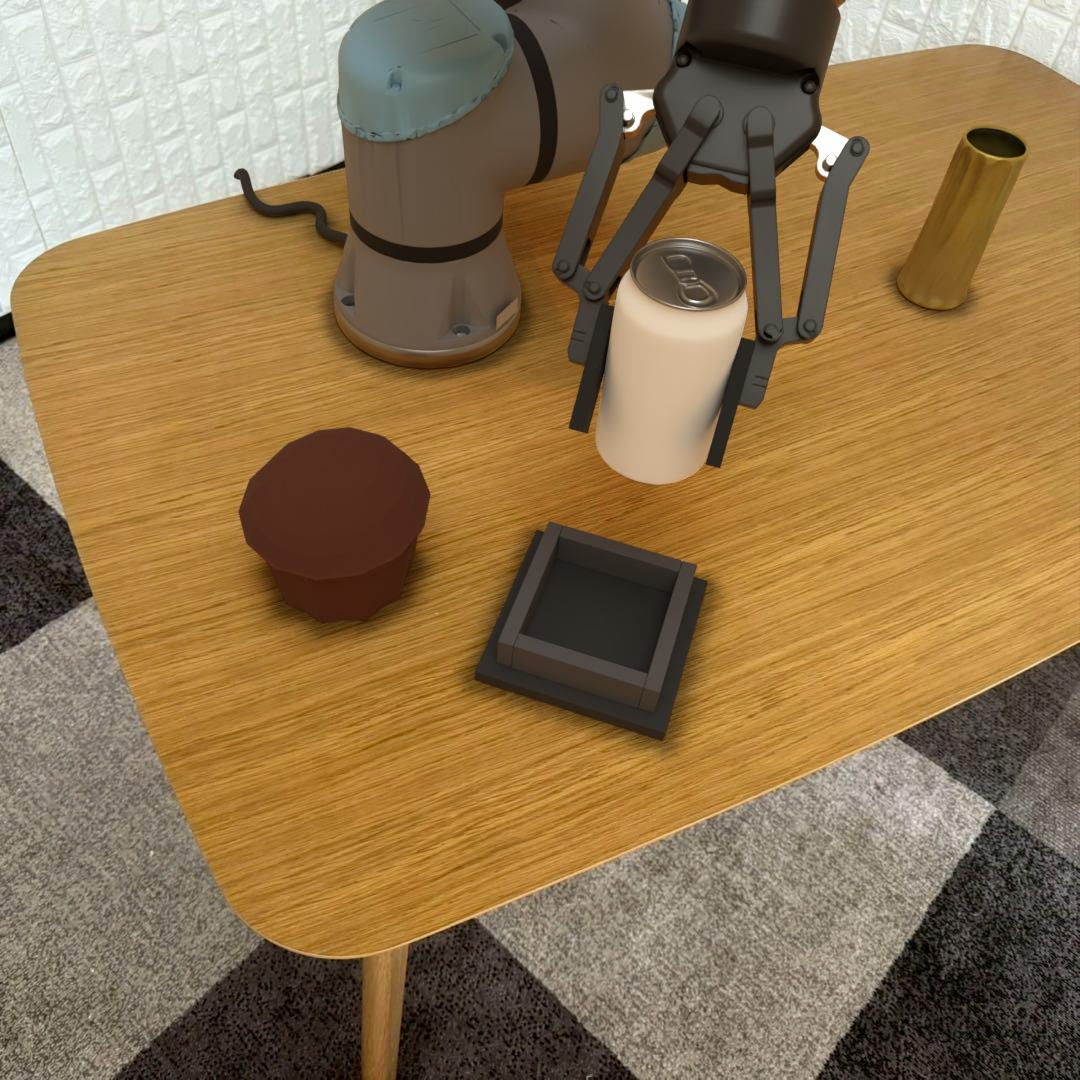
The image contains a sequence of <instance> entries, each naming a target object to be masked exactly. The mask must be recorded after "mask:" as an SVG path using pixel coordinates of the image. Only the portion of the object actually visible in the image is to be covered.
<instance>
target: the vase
mask: <svg viewBox="0 0 1080 1080" xmlns="http://www.w3.org/2000/svg"><path fill="white" fill-rule="evenodd" d="M1030 153H1031V148H1030V144H1029V142H1028V141H1027V139H1026V138H1024V136H1022V135H1021V134H1020V133H1018V132H1016V131H1014V130H1012V129H1009V128H1007V127H1005V126H1000V125H995V124H974V125H972V126H969V127H968V128H967V129H965V131H964V132H963V133H962V136H961V138H960V140H959V142H958V144H957V146H956V149H955V151H954V153H953V155H952V158H951V159H950V160H951V161H950V163H949V164H948V166H947V170H946V173H945V174H944V177H943V179H942V181H941V184H940V187H939V188H938V191H937V193H936V196H935V198H934V200H933V203H932V205H931V207H930V210H929V212H928V215H927V216H926V219H925V220H924V223H923V226H922V228H921V229H920V231H919V234H918V236H917V237H916V240H915V242H914V244H913V246H912V248H911V250H910V252H909V254H908V257H907V259H906V260H905V262H904V265H903V267H902V269H901V271H900V272H899V273H898V275H897V277H896V284H897V288H898V290H899V292H900V293H901V294H902V295H903V296H904V297H905V299H907V300H908V301H910V302H912V303H913V304H915V305H918V306H919V307H922V308H925V309H930V310H934V311H935V310H936V311H937V310H938V311H947V310H949V311H950V310H953V309H956V308H958V307H959V306H961V305H962V304H963V303H964V302H965V300H966V298H967V295H968V290H969V287H970V285H971V283H972V280H973V278H974V276H975V273H976V271H977V269H978V267H979V264H980V263H981V260H982V258H983V255H984V253H985V251H986V248H987V246H988V244H989V241H990V239H991V236H992V234H993V232H994V230H995V228H996V225H997V223H998V222H999V219H1000V216H1001V214H1002V212H1003V210H1004V208H1005V206H1006V204H1007V202H1008V201H1009V198H1010V196H1011V193H1012V192H1013V189H1014V187H1015V185H1016V183H1017V181H1018V178H1019V176H1020V173H1021V171H1022V170H1023V166H1024V164H1025V162H1027V160H1028V158H1029V155H1030Z"/></svg>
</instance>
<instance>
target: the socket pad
mask: <svg viewBox="0 0 1080 1080" xmlns="http://www.w3.org/2000/svg"><path fill="white" fill-rule="evenodd" d="M697 569H698V565H697V564H696V563H692V562H689V561H686V560H682V559H679V558H676V557H672V556H669V555H666V554H662V553H658V552H656V551H652V550H649V549H645V548H641V547H638V546H635V545H632V544H628V543H625V542H622V541H619V540H615V539H611V538H608V537H605V536H601V535H598V534H594V533H592V532H588V531H584V530H581V529H578V528H574V527H572V526H567V525H563V524H561V523H557V522H555V521H551V520H549V521H548V522H547V524H546V527H545V530H544V531H543V530H539V529H536V531H535V532H534V535H533V537H532V539H531V542H530V544H529V546H528V548H527V551H526V553H525V556H524V558H523V560H522V562H521V565H520V567H519V569H518V572H517V574H516V576H515V579H514V581H513V583H512V585H511V588H510V589H509V592H508V595H507V597H506V599H505V602H504V604H503V606H502V609H501V611H500V613H499V615H498V617H497V620H496V623H495V625H494V627H493V630H492V631H491V634H490V636H489V639H488V641H487V643H486V646H485V647H484V650H483V653H482V654H481V657H480V659H479V662H478V664H477V667H476V669H475V671H474V681H478V682H480V683H483V684H485V685H490V686H492V687H496V688H499V689H502V690H504V691H508V692H511V693H515V694H517V695H520V696H524V697H526V698H529V699H533V700H536V701H539V702H543V703H546V704H548V705H551V706H555V707H557V708H561V709H564V710H567V711H570V712H573V713H576V714H580V715H583V716H585V717H589V718H592V719H594V720H598V721H600V722H604V723H607V724H610V725H613V726H616V727H619V728H622V729H626V730H628V731H632V732H635V733H638V734H641V735H644V736H647V737H651V738H653V739H656V740H659V741H664V740H665V736H666V734H667V730H668V726H669V723H670V719H671V716H672V713H673V708H674V705H675V702H676V698H677V695H678V691H679V687H680V684H681V679H682V676H683V673H684V670H685V665H686V662H687V658H688V656H689V652H690V647H691V644H692V641H693V637H694V635H695V630H696V627H697V626H696V625H697V623H698V618H699V616H700V612H701V608H702V605H703V601H704V597H705V594H706V590H707V587H708V583H709V582H708V580H707V579H704V578H700V577H696V576H695V575H696V571H697Z"/></svg>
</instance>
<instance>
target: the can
mask: <svg viewBox="0 0 1080 1080" xmlns="http://www.w3.org/2000/svg"><path fill="white" fill-rule="evenodd" d="M747 284H748V277H747V273H746V270H745V268H744V266H743V264H742V263H741V261H739V260H738V258H737V257H736V256H734V255H733V254H732V253H731V252H729V251H727V250H726V249H725V248H723V247H721V246H720V245H717V244H714V243H713V242H709V241H706V240H703V239H699V238H694V237H685V236H684V237H683V236H674V237H673V236H672V237H664V238H659V239H655V240H653V241H650V242H647V243H646V245H644V246H643V247H641V248H640V249H639V250H638V251H637V252H636V253H635V254H634V256H633V257H632V260H631V263H630V269H629V270H628V271H627V272H626V274H625V275H624V277H623V278H622V280H621V282H620V284H619V286H618V288H617V290H616V291H617V292H616V298H615V303H614V306H615V308H614V314H613V320H612V326H611V332H610V339H609V345H608V352H607V358H606V364H605V371H604V375H603V379H602V383H601V390H600V397H599V404H598V412H597V419H596V425H595V434H594V440H595V446H596V450H597V452H598V454H599V456H600V457H601V459H602V460H603V461H604V462H605V464H606V465H607V466H609V467H610V469H612V470H613V471H614V472H616V473H617V474H618V475H620V476H622V477H623V478H625V479H627V480H630V481H632V482H634V483H639V484H643V485H648V486H665V485H670V484H671V485H672V484H674V483H678V482H681V481H684V480H686V479H688V478H690V477H692V476H693V475H695V474H696V473H697V472H699V470H700V469H702V467H703V465H704V464H705V463H706V460H707V457H708V453H709V450H710V446H711V443H712V439H713V435H714V432H715V428H716V425H717V421H718V417H719V414H720V410H721V407H722V403H723V400H724V396H725V393H726V389H727V385H728V382H729V378H730V375H731V371H732V368H733V364H734V361H735V357H736V354H737V350H738V347H739V343H740V340H741V337H742V336H743V333H744V329H745V325H746V320H747V316H748V310H749V309H748V308H749V305H748V297H747V293H746V289H747V286H748V285H747Z"/></svg>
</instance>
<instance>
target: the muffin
mask: <svg viewBox="0 0 1080 1080" xmlns="http://www.w3.org/2000/svg"><path fill="white" fill-rule="evenodd" d="M431 495H432V494H431V491H430V488H429V487H428V484H427V482H426V479H425V477H424V475H423V472H422V469H421V466H420V465H419V464H418V463H417V462H416V461H414V460H413V459H412V457H410V456H409V455H408V454H407V453H406V452H405V451H403V450H402V449H401V448H399V447H398V446H397V445H396V444H394V442H392V441H391V440H390V439H388V438H387V437H385V435H382V434H378V433H375V432H371V431H367V430H363V429H358V428H355V427H351V426H348V427H337V428H328V429H327V428H326V429H316V430H314V431H313V432H311V433H308V434H305V435H303V436H301V437H299V438H297V439H294V440H292V441H290V442H288V443H286V444H285V445H284V446H283V447H282V448H281V449H280V450H278V452H277V453H275V454H274V455H273V456H272V457H271V458H270V459H269V460H268V461H267V462H266V463H265V464H264V465H262V467H260V469H259V470H258V471H257V472H256V473H254V474H253V475H252V476H251V478H249V479H248V483H247V486H246V488H245V491H244V494H243V497H242V500H241V501H240V502H241V503H240V505H239V508H238V511H237V512H238V516H239V521H240V524H241V528H242V532H243V536H244V539H245V543H246V545H247V546H248V547H250V548H251V549H252V550H253V551H254V552H255V553H256V554H257V555H258V556H259V557H260V558H262V560H264V562H265V563H266V565H267V567H268V570H269V571H270V573H271V575H272V578H273V579H274V581H275V584H276V586H277V588H278V590H279V592H280V594H281V596H282V598H283V600H284V602H285V604H286V605H288V606H290V607H291V608H293V609H297V610H299V611H302V612H304V613H306V614H307V615H309V616H310V617H312V618H313V619H314V620H316V621H318V622H319V623H320V624H327V623H333V622H342V621H357V622H358V621H360V622H364V621H365V622H366V621H367V620H369V619H370V618H371V617H372V616H374V615H375V614H376V613H378V612H379V611H380V610H382V609H383V608H385V607H387V606H388V605H390V604H392V603H394V602H396V601H397V600H399V599H401V597H402V594H403V593H402V592H403V589H404V584H405V581H406V579H407V576H408V574H409V573H410V570H411V568H412V566H413V562H414V557H415V553H416V547H417V542H418V538H419V535H420V534H421V533H422V532H423V529H424V527H425V525H426V519H427V515H428V509H429V505H430V501H431Z"/></svg>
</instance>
